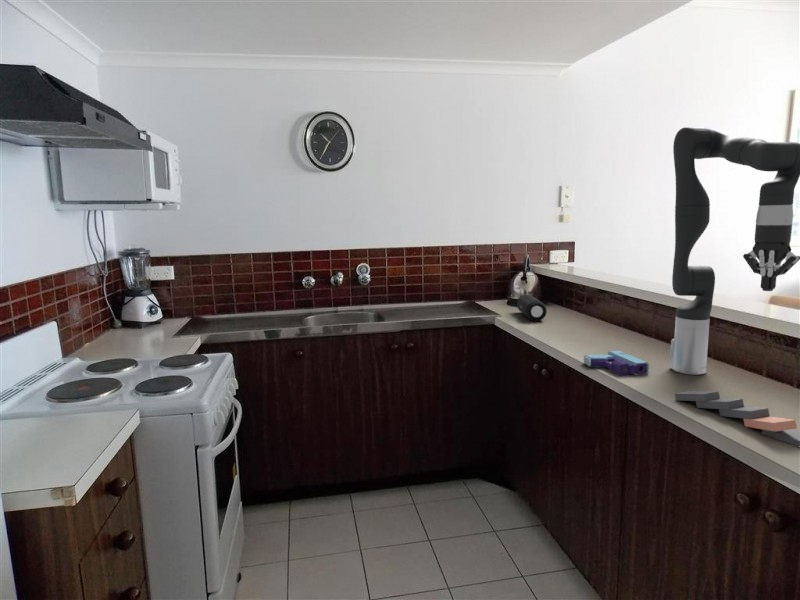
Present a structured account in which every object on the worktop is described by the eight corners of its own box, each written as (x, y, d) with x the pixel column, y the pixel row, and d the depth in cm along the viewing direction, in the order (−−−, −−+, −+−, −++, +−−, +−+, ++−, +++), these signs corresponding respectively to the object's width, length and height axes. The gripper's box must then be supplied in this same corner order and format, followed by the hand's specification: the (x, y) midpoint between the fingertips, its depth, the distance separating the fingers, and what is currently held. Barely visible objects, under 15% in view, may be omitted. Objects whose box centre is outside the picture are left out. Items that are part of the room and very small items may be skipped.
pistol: (579, 365, 172) (619, 361, 174) (606, 379, 156) (649, 374, 159) (579, 353, 171) (620, 349, 173) (606, 366, 156) (650, 361, 158)
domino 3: (718, 408, 125) (750, 411, 117) (735, 405, 126) (768, 408, 118) (720, 415, 125) (751, 419, 116) (737, 413, 126) (769, 416, 118)
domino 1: (674, 393, 136) (703, 394, 128) (688, 391, 138) (718, 391, 130) (675, 400, 136) (705, 401, 128) (690, 397, 138) (719, 398, 129)
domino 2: (695, 400, 131) (727, 401, 123) (710, 398, 133) (742, 399, 124) (696, 407, 131) (729, 409, 122) (711, 405, 132) (744, 406, 124)
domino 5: (762, 427, 115) (806, 443, 106) (777, 423, 117) (821, 439, 108) (761, 435, 115) (805, 451, 107) (776, 431, 117) (820, 447, 109)
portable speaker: (515, 312, 264) (516, 293, 262) (534, 312, 264) (535, 293, 262) (526, 322, 239) (527, 301, 237) (548, 322, 238) (548, 301, 237)
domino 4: (743, 418, 118) (773, 423, 110) (763, 415, 119) (795, 420, 110) (744, 426, 118) (775, 431, 109) (765, 423, 119) (797, 428, 110)
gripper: (812, 223, 125) (804, 292, 128) (755, 223, 137) (749, 286, 140) (794, 223, 122) (787, 295, 125) (738, 223, 134) (732, 289, 137)
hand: (767, 290), depth 132 cm, fingers closed
